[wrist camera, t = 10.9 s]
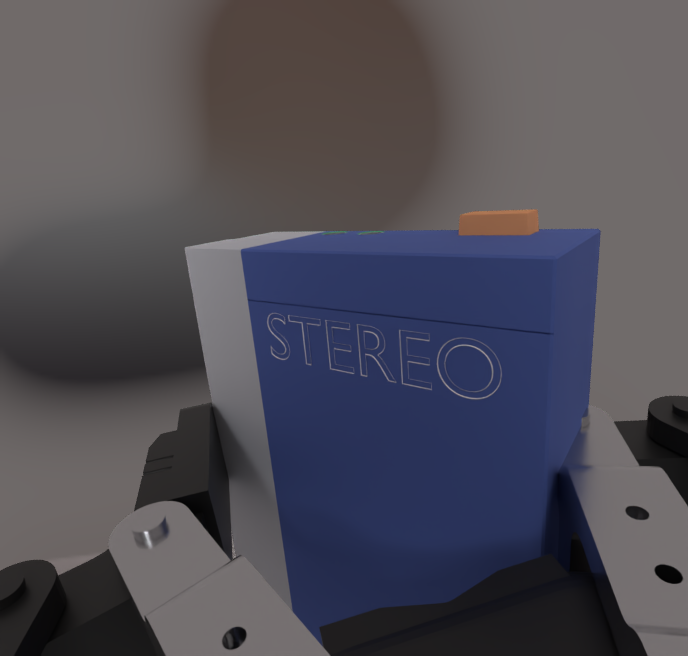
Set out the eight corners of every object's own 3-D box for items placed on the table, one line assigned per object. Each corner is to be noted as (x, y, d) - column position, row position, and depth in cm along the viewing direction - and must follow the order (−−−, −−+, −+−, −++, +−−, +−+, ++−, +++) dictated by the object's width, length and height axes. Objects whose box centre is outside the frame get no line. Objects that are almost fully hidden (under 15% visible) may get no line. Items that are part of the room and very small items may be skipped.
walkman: (567, 730, 11) (603, 205, 8) (529, 860, 9) (557, 226, 6) (313, 586, 16) (266, 217, 13) (250, 652, 14) (173, 231, 11)
